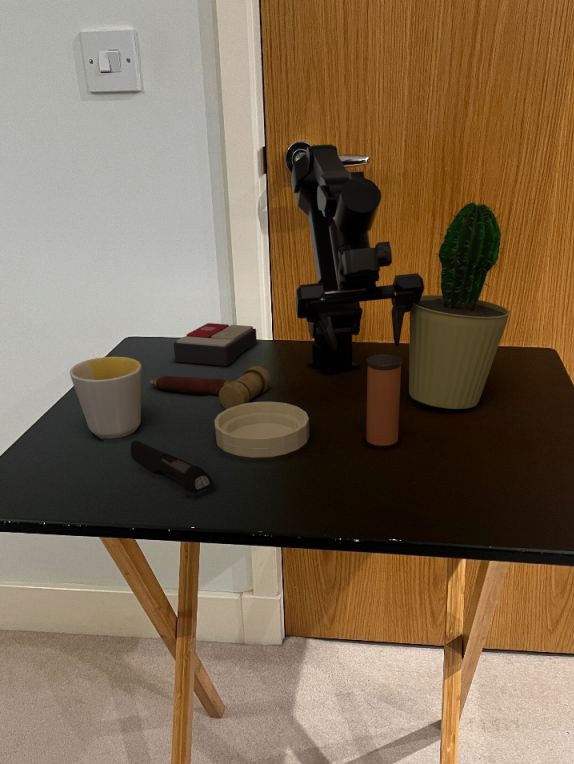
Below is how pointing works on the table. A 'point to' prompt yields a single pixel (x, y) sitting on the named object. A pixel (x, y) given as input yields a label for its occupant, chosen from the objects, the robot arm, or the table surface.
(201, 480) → the electric trimmer
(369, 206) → the robot arm
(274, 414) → the bowl
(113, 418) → the mug
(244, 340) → the gray and red box
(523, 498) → the table surface
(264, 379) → the gavel
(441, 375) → the potted cactus
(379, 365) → the copper tin
